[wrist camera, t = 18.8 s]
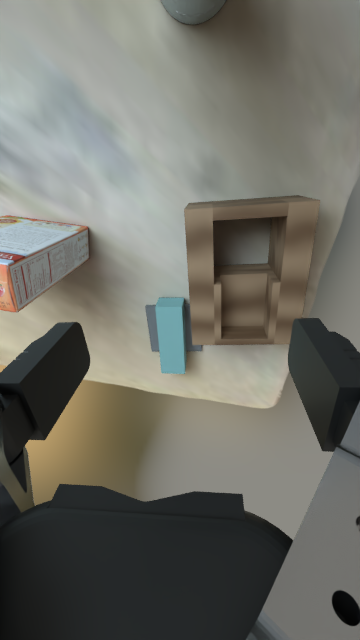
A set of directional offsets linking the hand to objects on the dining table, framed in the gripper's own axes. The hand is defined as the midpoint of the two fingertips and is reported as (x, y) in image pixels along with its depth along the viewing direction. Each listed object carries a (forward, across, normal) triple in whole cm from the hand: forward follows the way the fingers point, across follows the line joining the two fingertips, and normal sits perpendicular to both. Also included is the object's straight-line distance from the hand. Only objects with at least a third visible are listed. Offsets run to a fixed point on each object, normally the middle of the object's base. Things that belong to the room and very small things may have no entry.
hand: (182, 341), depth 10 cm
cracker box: (+36, +26, +2) cm, 45 cm away
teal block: (+36, +6, +20) cm, 41 cm away
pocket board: (+36, -6, +8) cm, 37 cm away
